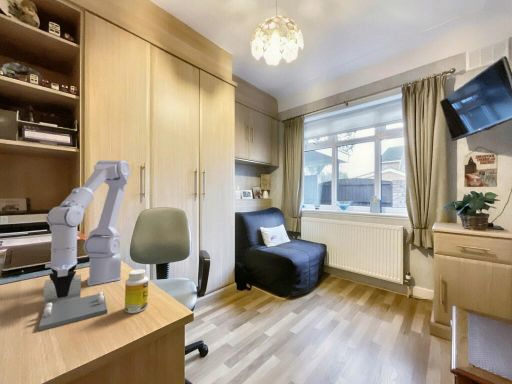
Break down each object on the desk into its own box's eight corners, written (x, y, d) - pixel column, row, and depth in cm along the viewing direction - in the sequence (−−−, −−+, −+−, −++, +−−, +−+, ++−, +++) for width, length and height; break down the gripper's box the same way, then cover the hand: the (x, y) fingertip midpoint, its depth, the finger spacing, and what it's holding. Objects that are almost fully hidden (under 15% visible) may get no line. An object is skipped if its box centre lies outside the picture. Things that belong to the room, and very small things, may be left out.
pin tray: (103, 296, 68) (103, 286, 68) (107, 313, 59) (107, 301, 59) (45, 309, 60) (45, 297, 60) (38, 331, 51) (39, 317, 51)
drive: (80, 293, 69) (80, 274, 69) (80, 298, 66) (80, 278, 66) (45, 301, 64) (45, 280, 65) (43, 306, 61) (44, 284, 61)
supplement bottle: (145, 313, 59) (146, 274, 59) (121, 315, 58) (122, 275, 58) (149, 302, 65) (150, 267, 65) (128, 304, 63) (129, 268, 63)
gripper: (48, 244, 69) (47, 288, 69) (42, 255, 57) (40, 308, 57) (77, 241, 73) (76, 283, 73) (77, 251, 62) (76, 300, 62)
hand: (63, 293), depth 65 cm, fingers closed on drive, 4 cm apart
